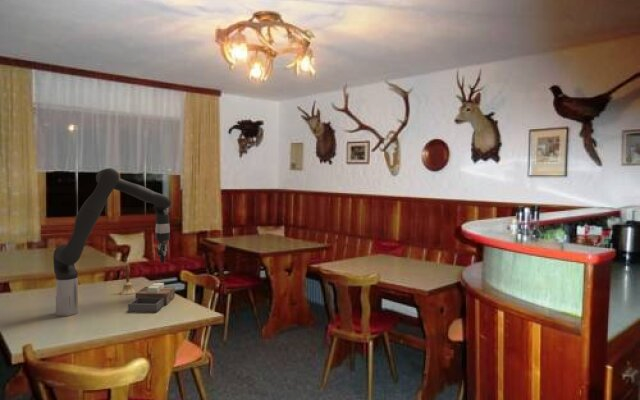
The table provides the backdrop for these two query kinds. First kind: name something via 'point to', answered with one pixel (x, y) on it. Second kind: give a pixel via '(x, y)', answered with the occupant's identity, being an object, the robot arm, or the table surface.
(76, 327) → the table surface
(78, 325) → the table surface
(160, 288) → the tile far
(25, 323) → the table surface
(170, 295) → the drawer box
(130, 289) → the hand bell
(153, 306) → the box
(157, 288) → the tile near
